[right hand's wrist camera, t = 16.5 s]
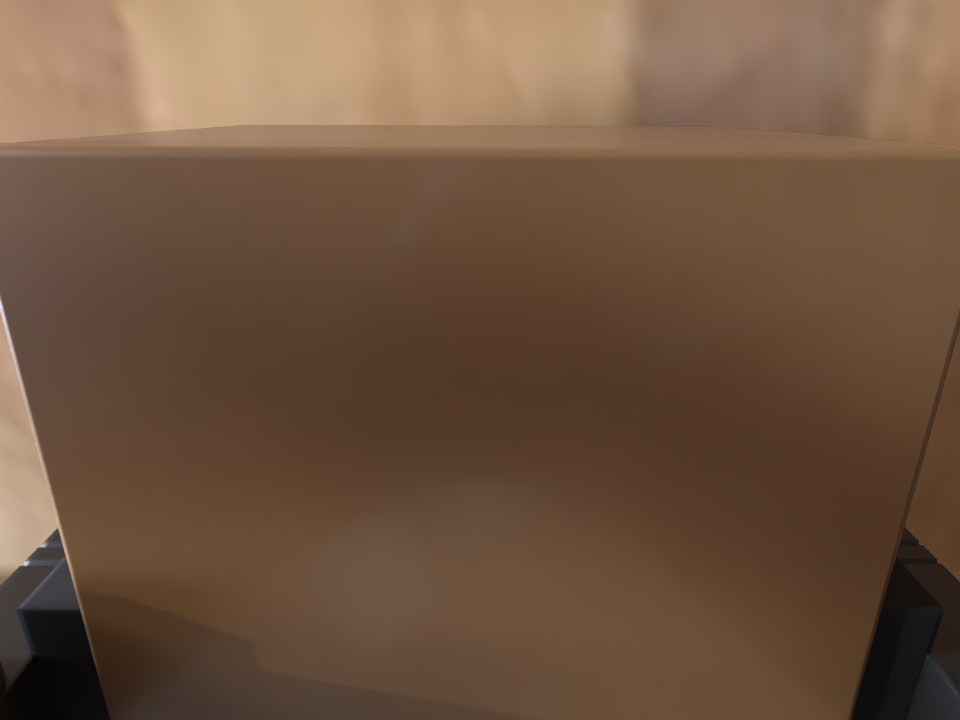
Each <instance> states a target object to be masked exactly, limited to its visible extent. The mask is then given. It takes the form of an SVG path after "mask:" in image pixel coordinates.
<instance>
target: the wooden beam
mask: <svg viewBox="0 0 960 720" xmlns="http://www.w3.org/2000/svg"><path fill="white" fill-rule="evenodd" d="M0 313H1V316H2V320H3V324H4V327H5V331H6V335H7V339H8V342H9V346H10V350H11V354H12V357H13V361H14V365H15V368H16V372H17V376H18V380H19V383H20V387H21V391H22V395H23V398H24V402H25V406H26V409H27V413H28V417H29V421H30V424H31V428H32V432H33V436H34V439H35V443H36V447H37V450H38V454H39V458H40V462H41V465H42V469H43V473H44V476H45V480H46V484H47V488H48V491H49V495H50V499H51V503H52V506H53V510H54V514H55V517H56V521H57V525H58V529H59V532H60V536H61V540H62V544H63V547H64V551H65V555H66V558H67V562H68V566H69V570H70V573H71V577H72V581H73V585H74V588H75V592H76V596H77V599H78V603H79V607H80V611H81V614H82V618H83V622H84V625H85V629H86V633H87V637H88V640H89V644H90V648H91V652H92V655H93V659H94V663H95V666H96V670H97V674H98V678H99V681H100V685H101V689H102V693H103V696H104V700H105V704H106V707H107V711H108V715H109V719H110V720H851V718H852V715H853V711H854V708H855V704H856V700H857V697H858V693H859V689H860V686H861V682H862V679H863V675H864V671H865V668H866V664H867V660H868V657H869V653H870V650H871V646H872V642H873V639H874V635H875V631H876V628H877V624H878V621H879V617H880V613H881V610H882V606H883V602H884V599H885V595H886V592H887V588H888V584H889V581H890V577H891V573H892V570H893V566H894V563H895V559H896V555H897V552H898V548H899V544H900V541H901V537H902V534H903V530H904V526H905V523H906V519H907V515H908V512H909V508H910V505H911V501H912V497H913V494H914V490H915V486H916V483H917V479H918V476H919V472H920V468H921V465H922V461H923V457H924V454H925V450H926V447H927V443H928V439H929V436H930V432H931V428H932V425H933V421H934V417H935V414H936V410H937V407H938V403H939V399H940V396H941V392H942V388H943V385H944V381H945V378H946V374H947V370H948V367H949V363H950V359H951V356H952V352H953V349H954V345H955V341H956V338H957V334H958V330H959V327H960V146H956V145H944V144H931V143H919V142H906V141H894V140H881V139H869V138H857V137H844V136H832V135H819V134H807V133H794V132H782V131H769V130H757V129H744V128H732V127H719V126H375V125H239V126H226V127H213V128H200V129H187V130H174V131H160V132H147V133H134V134H121V135H108V136H95V137H82V138H68V139H55V140H42V141H29V142H16V143H3V144H0Z"/></svg>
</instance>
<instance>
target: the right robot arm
mask: <svg viewBox="0 0 960 720" xmlns="http://www.w3.org/2000/svg"><path fill="white" fill-rule="evenodd" d="M0 720H110V719H109V715H108V711H107V707H106V704H105V700H104V696H103V693H102V689H101V685H100V681H99V678H98V674H97V670H96V666H95V663H94V659H93V655H92V652H91V648H90V644H89V640H88V637H87V633H86V629H85V625H84V622H83V618H82V614H81V611H80V607H79V603H78V599H77V596H76V592H75V588H74V585H73V581H72V577H71V573H70V570H69V566H68V562H67V558H66V555H65V551H64V547H63V544H62V540H61V536H60V532H59V529H58V528H57V529H56V530H55V531H54V533H53V534H52V535H51V536H50V537H49V538H48V539H47V540H46V541H45V542H44V543H43V546H42V548H38V549H37V550H36V551H35V552H34V553H33V554H32V555H31V556H30V557H29V558H28V559H27V560H26V561H25V565H24V566H20V567H19V568H18V569H17V570H16V571H15V572H14V573H13V574H12V575H11V576H10V577H9V578H8V579H7V580H6V581H5V582H4V583H3V584H2V585H1V586H0ZM851 720H960V582H959V581H958V580H957V579H956V578H955V577H954V576H953V575H952V574H951V573H950V572H949V571H948V570H947V569H946V568H945V567H944V566H943V565H942V564H938V563H937V559H936V558H935V557H934V556H933V555H932V554H931V553H930V552H929V551H928V550H927V549H926V548H925V547H924V546H923V545H919V541H918V540H917V539H916V538H915V537H914V536H913V535H912V534H911V533H910V532H909V531H908V530H907V529H906V528H905V527H904V530H903V534H902V537H901V541H900V544H899V548H898V552H897V555H896V559H895V563H894V566H893V570H892V573H891V577H890V581H889V584H888V588H887V592H886V595H885V599H884V602H883V606H882V610H881V613H880V617H879V621H878V624H877V628H876V631H875V635H874V639H873V642H872V646H871V650H870V653H869V657H868V660H867V664H866V668H865V671H864V675H863V679H862V682H861V686H860V689H859V693H858V697H857V700H856V704H855V708H854V711H853V715H852V718H851Z"/></svg>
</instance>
